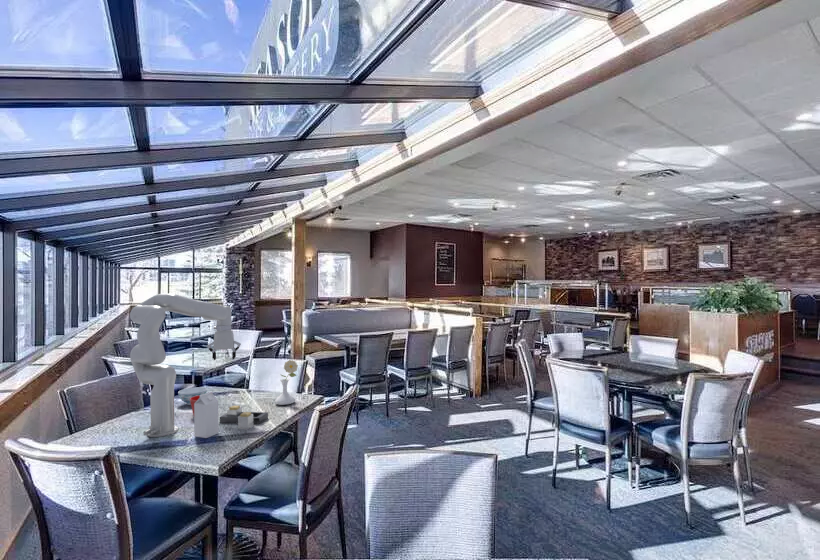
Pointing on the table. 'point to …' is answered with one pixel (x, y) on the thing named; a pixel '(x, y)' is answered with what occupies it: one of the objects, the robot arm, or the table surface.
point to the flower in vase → (286, 397)
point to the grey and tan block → (245, 421)
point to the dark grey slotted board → (257, 416)
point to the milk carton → (206, 416)
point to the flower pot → (194, 402)
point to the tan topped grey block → (234, 411)
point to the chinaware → (191, 393)
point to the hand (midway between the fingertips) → (224, 359)
